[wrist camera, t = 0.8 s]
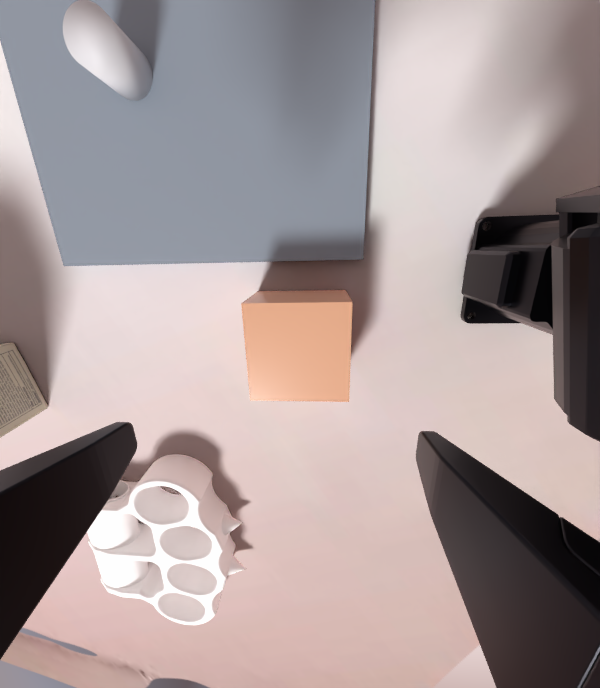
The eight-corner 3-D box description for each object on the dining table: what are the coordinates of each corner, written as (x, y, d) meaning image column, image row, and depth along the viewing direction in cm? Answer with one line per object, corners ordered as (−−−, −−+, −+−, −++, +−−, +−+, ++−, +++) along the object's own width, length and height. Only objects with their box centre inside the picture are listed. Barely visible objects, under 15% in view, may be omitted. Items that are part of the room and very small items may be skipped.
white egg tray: (84, 446, 26) (243, 454, 25) (123, 580, 32) (253, 591, 31) (51, 474, 23) (232, 484, 22) (101, 618, 28) (245, 630, 28)
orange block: (345, 289, 19) (352, 302, 15) (343, 370, 21) (349, 401, 17) (258, 291, 20) (241, 303, 16) (263, 370, 22) (250, 400, 17)
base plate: (376, -94, 13) (397, -217, 10) (361, 258, 19) (371, 261, 15) (-13, -53, 15) (-118, -147, 11) (73, 265, 20) (19, 269, 16)
